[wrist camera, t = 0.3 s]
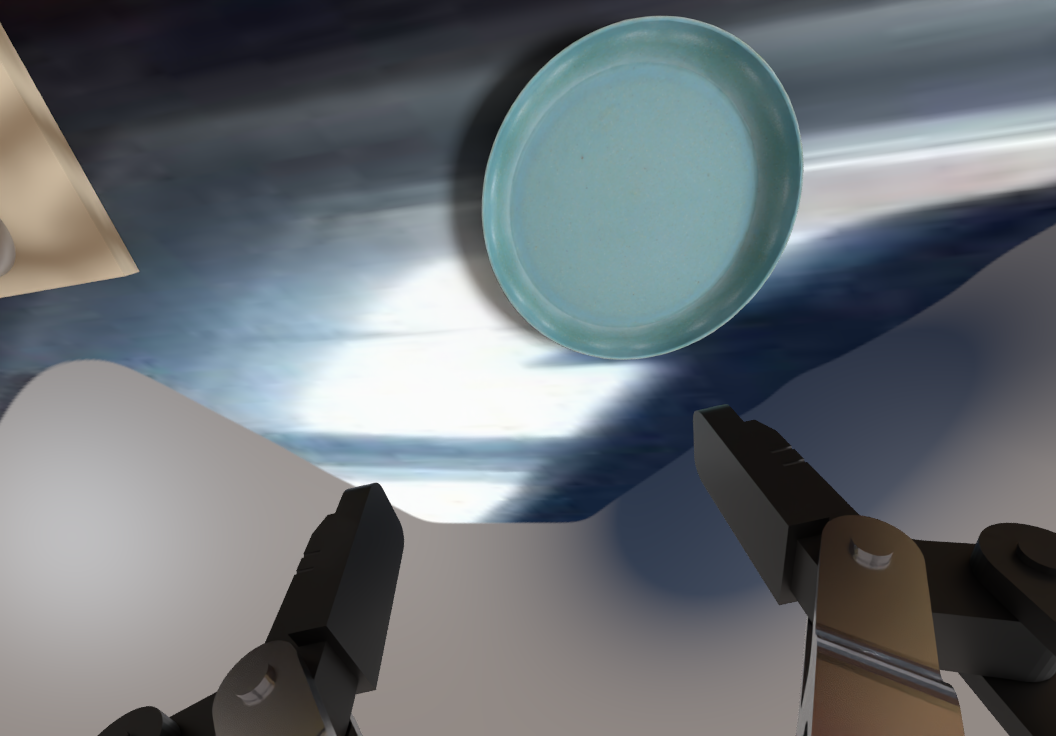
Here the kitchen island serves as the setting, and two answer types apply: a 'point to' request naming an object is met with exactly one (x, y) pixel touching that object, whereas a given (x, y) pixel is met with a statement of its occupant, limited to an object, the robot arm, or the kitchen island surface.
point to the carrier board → (46, 197)
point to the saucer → (642, 187)
